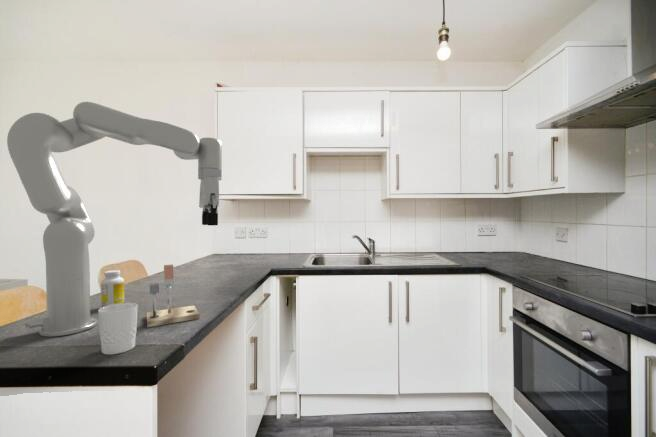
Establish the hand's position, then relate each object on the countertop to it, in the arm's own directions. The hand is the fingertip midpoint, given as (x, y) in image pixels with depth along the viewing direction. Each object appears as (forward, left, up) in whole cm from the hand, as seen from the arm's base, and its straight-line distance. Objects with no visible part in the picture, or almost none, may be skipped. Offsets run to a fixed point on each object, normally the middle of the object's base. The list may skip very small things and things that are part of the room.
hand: (209, 225), depth 106 cm
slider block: (-13, -3, -27) cm, 30 cm away
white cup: (-25, -22, -29) cm, 44 cm away
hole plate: (-12, -3, -29) cm, 31 cm away
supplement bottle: (-29, +21, -29) cm, 46 cm away
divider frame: (-11, -4, -27) cm, 29 cm away
